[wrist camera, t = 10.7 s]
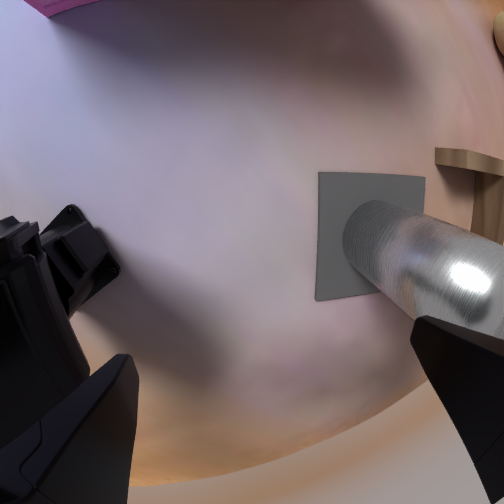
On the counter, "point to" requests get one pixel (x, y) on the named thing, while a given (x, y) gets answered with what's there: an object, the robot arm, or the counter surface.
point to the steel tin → (428, 265)
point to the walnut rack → (481, 189)
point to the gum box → (56, 5)
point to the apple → (499, 31)
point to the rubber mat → (337, 214)
